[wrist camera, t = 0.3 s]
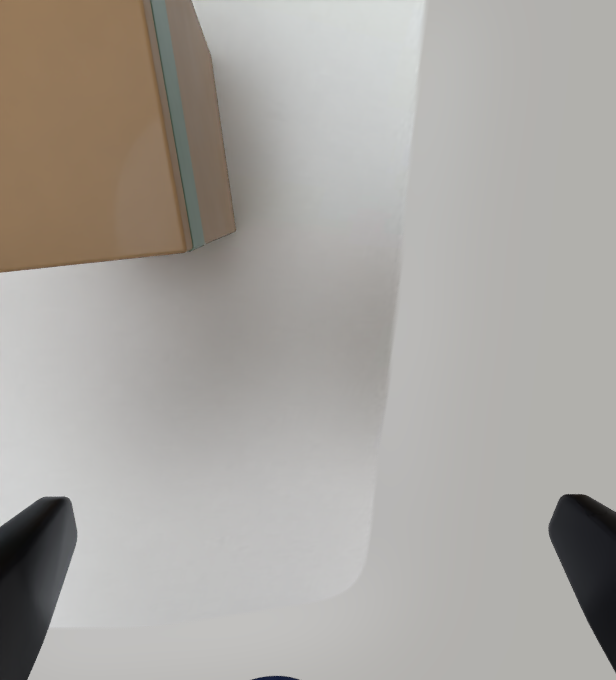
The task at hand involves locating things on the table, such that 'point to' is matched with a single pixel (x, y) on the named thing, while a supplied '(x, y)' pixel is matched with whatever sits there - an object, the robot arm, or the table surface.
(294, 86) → the table surface
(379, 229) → the table surface
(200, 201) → the carton
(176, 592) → the table surface
